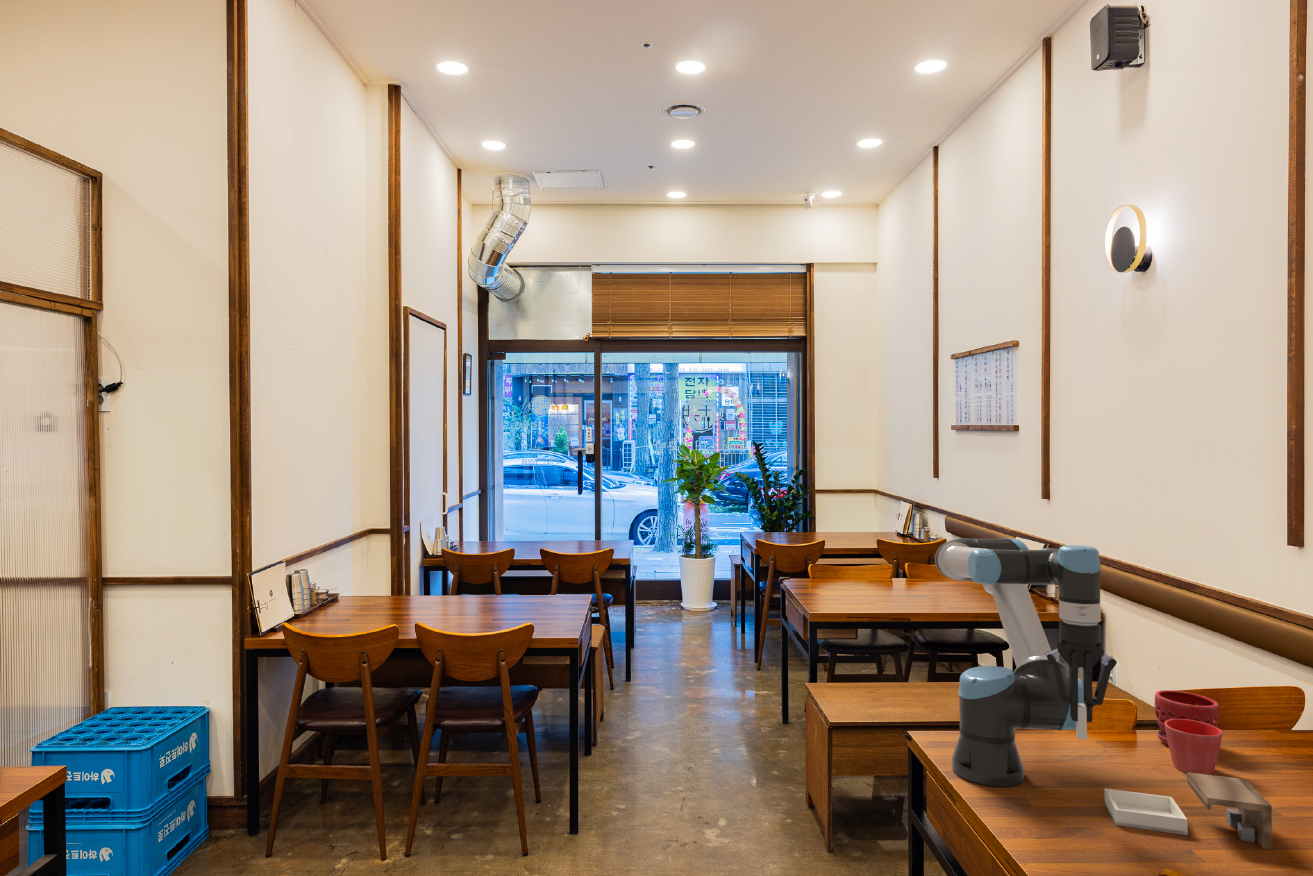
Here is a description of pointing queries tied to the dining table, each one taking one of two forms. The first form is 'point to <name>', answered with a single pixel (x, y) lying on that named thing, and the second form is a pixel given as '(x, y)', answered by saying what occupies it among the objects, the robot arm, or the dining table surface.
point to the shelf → (1236, 801)
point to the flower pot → (1193, 745)
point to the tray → (1145, 811)
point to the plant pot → (1183, 709)
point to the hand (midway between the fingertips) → (1081, 737)
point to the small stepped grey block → (1240, 825)
